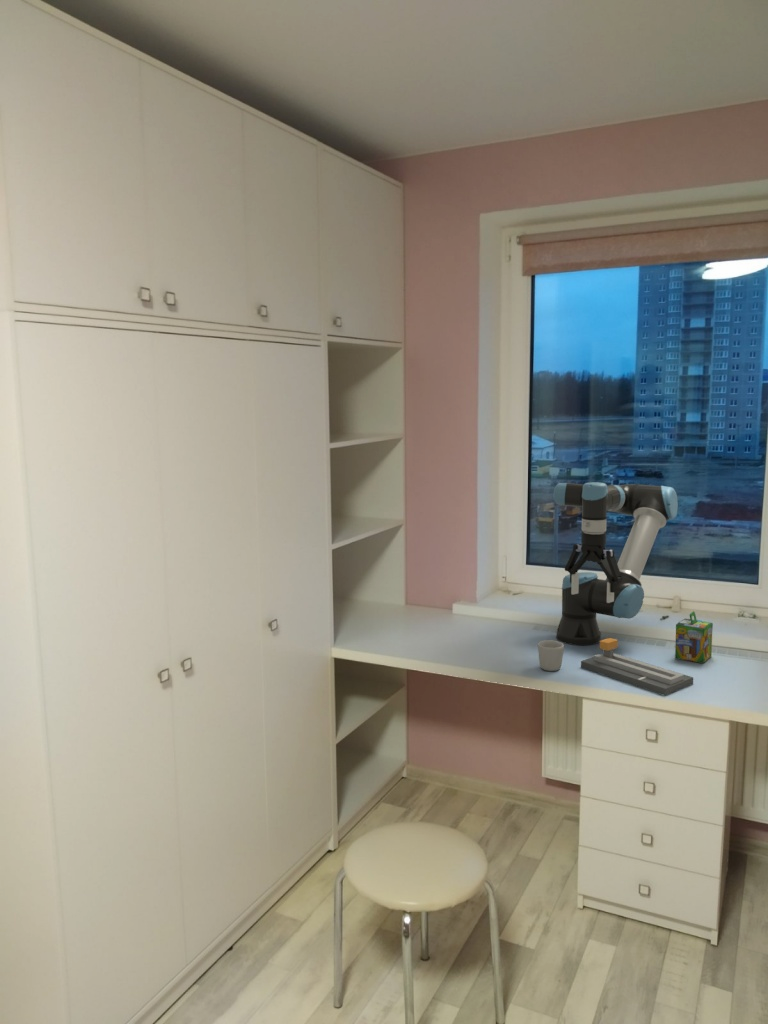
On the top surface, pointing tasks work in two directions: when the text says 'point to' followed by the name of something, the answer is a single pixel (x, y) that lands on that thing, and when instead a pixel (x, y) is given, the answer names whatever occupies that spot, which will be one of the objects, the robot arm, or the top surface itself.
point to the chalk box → (693, 640)
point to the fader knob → (608, 646)
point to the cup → (550, 654)
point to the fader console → (638, 673)
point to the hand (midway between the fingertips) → (592, 597)
